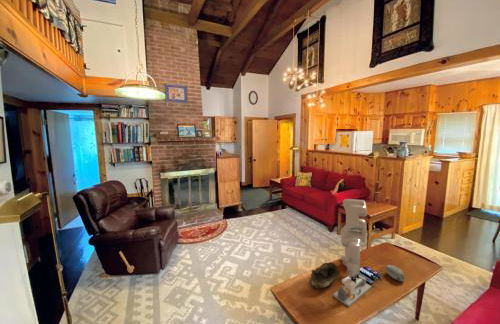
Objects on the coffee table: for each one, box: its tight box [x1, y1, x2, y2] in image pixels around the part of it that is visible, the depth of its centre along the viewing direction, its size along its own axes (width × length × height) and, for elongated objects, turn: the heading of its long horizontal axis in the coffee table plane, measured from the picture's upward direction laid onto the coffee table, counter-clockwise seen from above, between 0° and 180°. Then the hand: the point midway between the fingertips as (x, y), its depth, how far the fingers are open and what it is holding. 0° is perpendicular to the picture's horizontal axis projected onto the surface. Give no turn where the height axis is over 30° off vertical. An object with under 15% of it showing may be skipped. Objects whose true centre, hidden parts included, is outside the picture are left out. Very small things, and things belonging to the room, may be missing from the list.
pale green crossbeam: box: [345, 278, 363, 294], centre depth 149 cm, size 2×26×2 cm, turn 124°
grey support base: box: [332, 275, 372, 308], centre depth 149 cm, size 12×30×8 cm, turn 124°
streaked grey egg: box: [385, 264, 406, 282], centre depth 163 cm, size 14×10×10 cm
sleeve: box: [344, 278, 355, 295], centre depth 146 cm, size 5×5×8 cm
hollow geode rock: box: [308, 262, 340, 290], centre depth 160 cm, size 28×13×15 cm
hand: (353, 282), depth 148 cm, fingers closed
